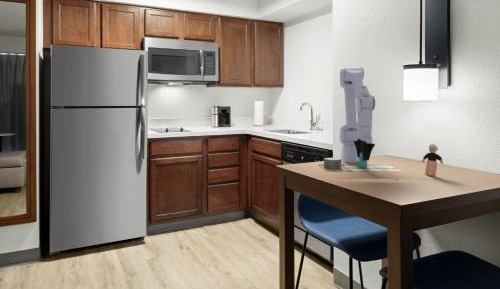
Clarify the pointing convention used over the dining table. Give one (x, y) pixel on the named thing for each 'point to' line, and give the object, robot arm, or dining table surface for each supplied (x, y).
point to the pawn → (362, 162)
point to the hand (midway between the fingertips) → (363, 158)
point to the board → (378, 168)
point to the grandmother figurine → (432, 161)
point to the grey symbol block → (332, 163)
